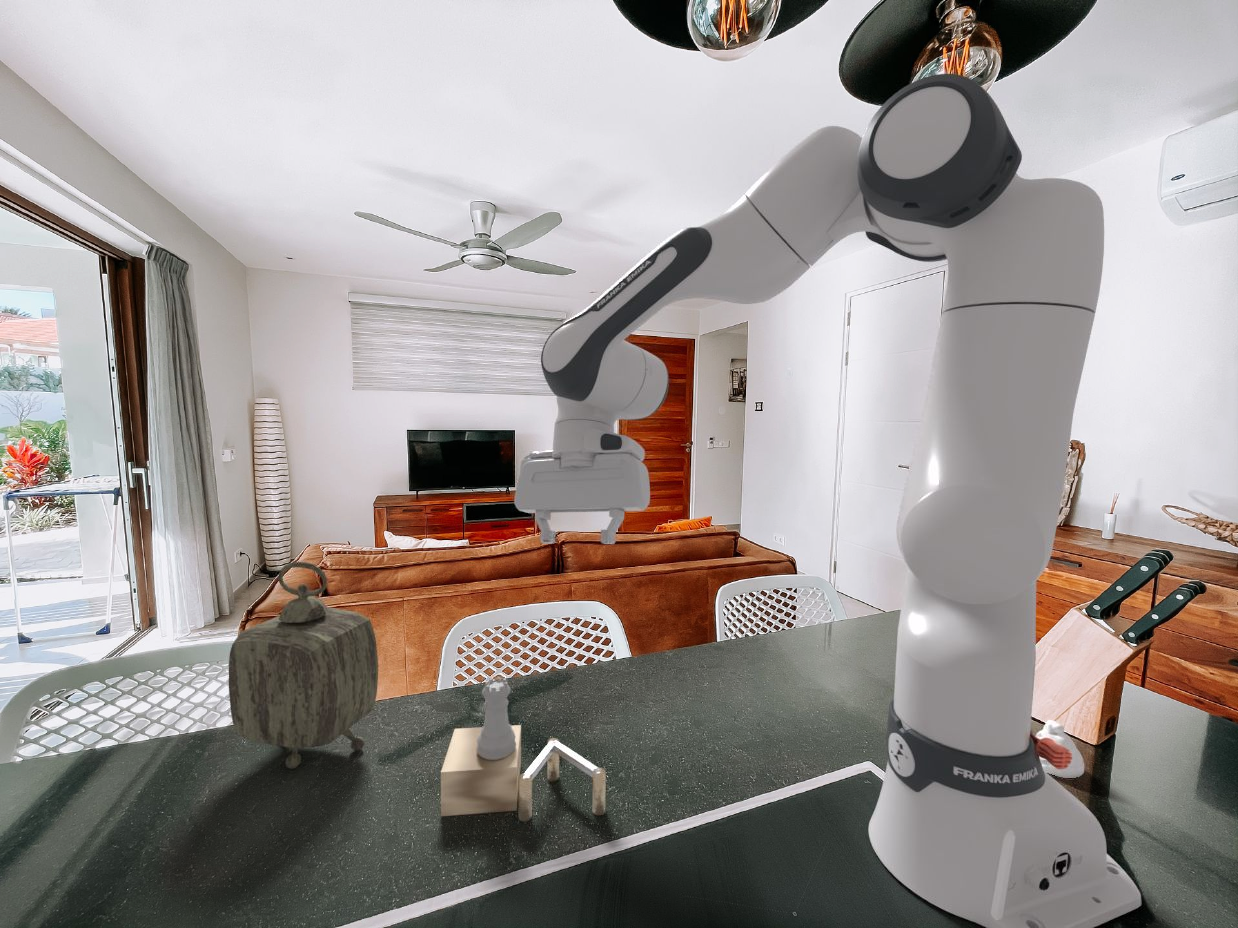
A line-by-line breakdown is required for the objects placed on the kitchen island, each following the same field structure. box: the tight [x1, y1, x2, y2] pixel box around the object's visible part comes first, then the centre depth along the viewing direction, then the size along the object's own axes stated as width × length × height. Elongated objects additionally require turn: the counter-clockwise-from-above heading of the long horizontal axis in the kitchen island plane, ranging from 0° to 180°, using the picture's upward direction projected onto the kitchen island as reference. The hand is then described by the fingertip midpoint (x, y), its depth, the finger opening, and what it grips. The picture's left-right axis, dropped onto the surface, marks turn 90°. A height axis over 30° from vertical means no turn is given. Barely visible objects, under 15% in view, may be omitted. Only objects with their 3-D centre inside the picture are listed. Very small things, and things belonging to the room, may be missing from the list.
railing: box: [518, 737, 607, 822], centre depth 59 cm, size 9×7×4 cm
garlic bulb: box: [1035, 719, 1085, 779], centre depth 65 cm, size 6×6×5 cm
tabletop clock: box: [228, 561, 379, 770], centre depth 64 cm, size 14×9×25 cm, turn 77°
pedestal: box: [440, 724, 522, 817], centre depth 60 cm, size 8×8×5 cm
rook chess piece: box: [476, 677, 516, 761], centre depth 59 cm, size 4×4×8 cm
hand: (576, 543), depth 72 cm, fingers open, 8 cm apart
